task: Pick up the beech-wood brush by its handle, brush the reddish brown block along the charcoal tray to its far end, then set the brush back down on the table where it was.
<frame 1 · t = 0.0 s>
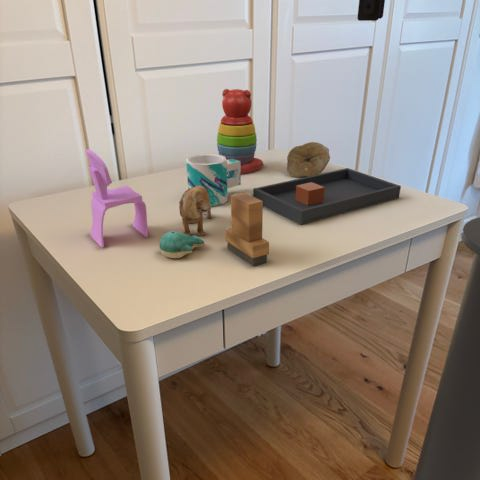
hand: (370, 19, 80), 32 cm above the table, tool pointing down, fingers open, 9 cm apart
reddish brown block: (309, 201, 99), point 1 cm above the table, touching tray
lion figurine: (199, 230, 89), on the table
whale figurine: (182, 253, 81), on the table
fossil: (306, 175, 116), on the table
stacking bear: (237, 169, 120), on the table
toy chair: (120, 237, 86), on the table
mug: (215, 198, 103), on the table
tray: (326, 199, 101), on the table
brush: (246, 255, 79), on the table
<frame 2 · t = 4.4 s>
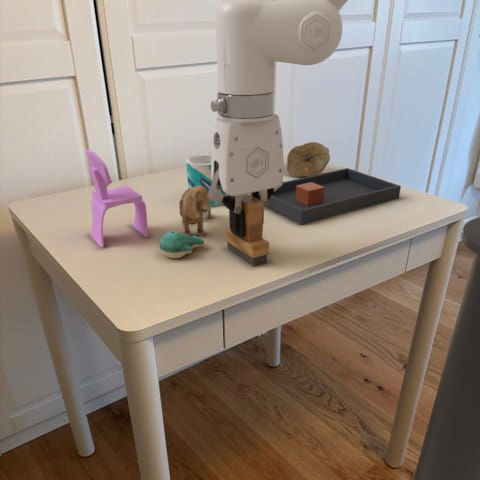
hand: (246, 231, 77), 4 cm above the table, tool pointing down, fingers closed on brush, 2 cm apart
brush: (246, 255, 79), on the table, touching gripper
everything else where it was.
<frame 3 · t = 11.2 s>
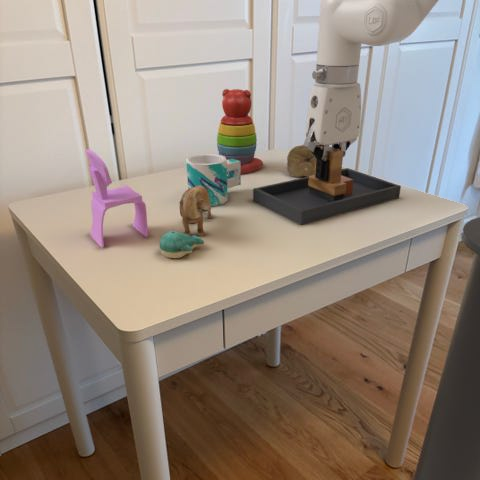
hand: (327, 177, 98), 5 cm above the table, tool pointing down, fingers closed on brush, 2 cm apart
reddish brown block: (338, 193, 102), point 1 cm above the table
brush: (325, 196, 101), point 1 cm above the table, touching gripper
everything else where it was.
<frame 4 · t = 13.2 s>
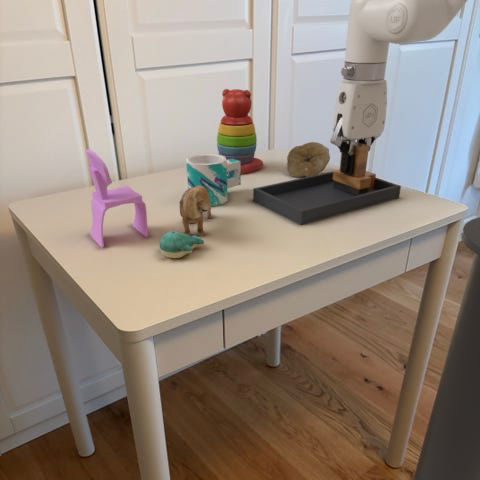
hand: (352, 171, 101), 5 cm above the table, tool pointing down, fingers closed on brush, 2 cm apart
reddish brown block: (360, 187, 105), point 1 cm above the table, touching brush, tray
brush: (350, 190, 104), point 1 cm above the table, touching reddish brown block, gripper
everything else where it was.
when the fingers open (4 cm above the table, at t = 20.5 s): brush stays where it is, on the table.
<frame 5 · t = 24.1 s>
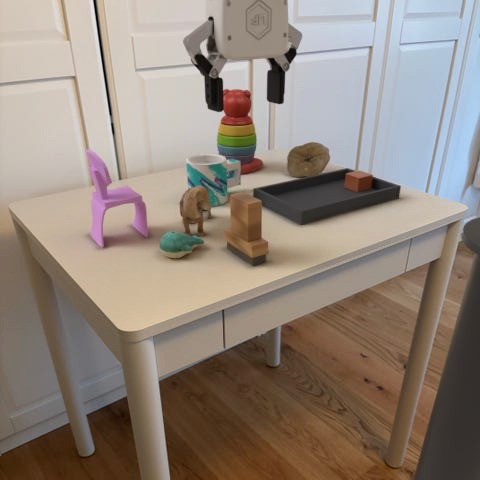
hand: (246, 106, 67), 22 cm above the table, tool pointing down, fingers open, 9 cm apart
reddish brown block: (357, 188, 105), point 1 cm above the table, touching tray
brush: (246, 255, 79), on the table
everything else where it was.
at the end: reddish brown block inside the target area in the tray (0.6 cm from its centre), point 0.6 cm above the tray's base; brush inside the target area (0.2 cm from its centre), on the table; the gripper is holding nothing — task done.
